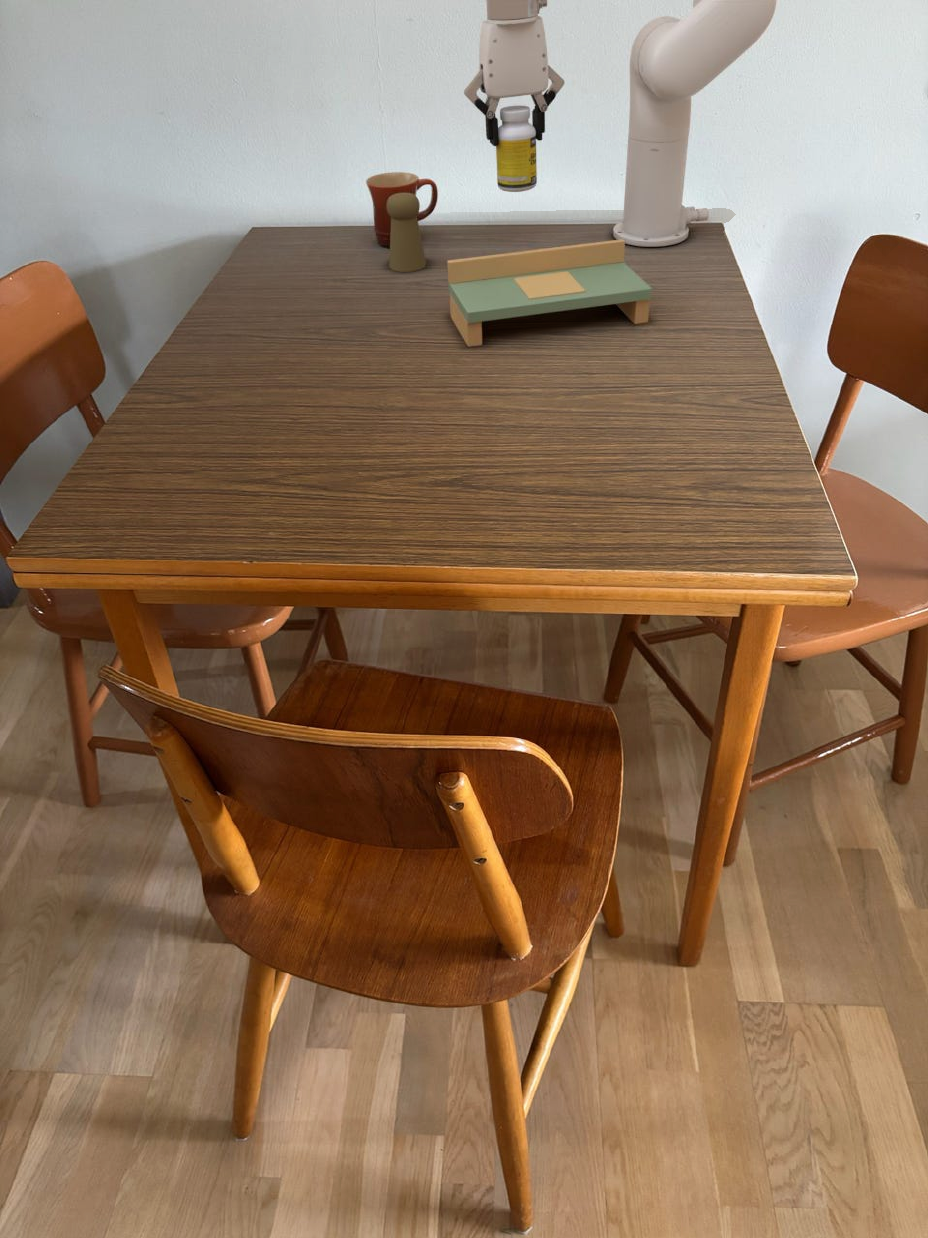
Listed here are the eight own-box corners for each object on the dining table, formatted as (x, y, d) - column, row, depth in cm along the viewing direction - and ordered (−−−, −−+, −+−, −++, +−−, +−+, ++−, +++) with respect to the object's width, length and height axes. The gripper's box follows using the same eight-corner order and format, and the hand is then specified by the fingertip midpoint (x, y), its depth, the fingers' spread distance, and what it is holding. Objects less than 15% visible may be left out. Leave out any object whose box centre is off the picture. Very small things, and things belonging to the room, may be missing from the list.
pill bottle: (530, 193, 153) (528, 113, 146) (492, 192, 155) (488, 113, 148) (541, 182, 158) (540, 103, 150) (504, 180, 160) (501, 103, 152)
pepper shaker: (421, 272, 153) (416, 200, 146) (385, 271, 154) (378, 199, 147) (430, 259, 158) (425, 188, 151) (394, 258, 159) (388, 188, 152)
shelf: (619, 293, 143) (622, 238, 138) (649, 323, 134) (654, 266, 129) (450, 315, 139) (447, 260, 134) (468, 348, 130) (466, 290, 125)
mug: (379, 253, 161) (373, 189, 154) (366, 238, 167) (360, 175, 161) (447, 243, 164) (443, 179, 157) (432, 228, 170) (428, 167, 164)
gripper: (561, -1, 145) (560, 129, 156) (449, 11, 142) (457, 142, 154) (576, 5, 139) (575, 139, 150) (460, 18, 137) (468, 153, 148)
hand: (515, 140), depth 152 cm, fingers closed on pill bottle, 6 cm apart
